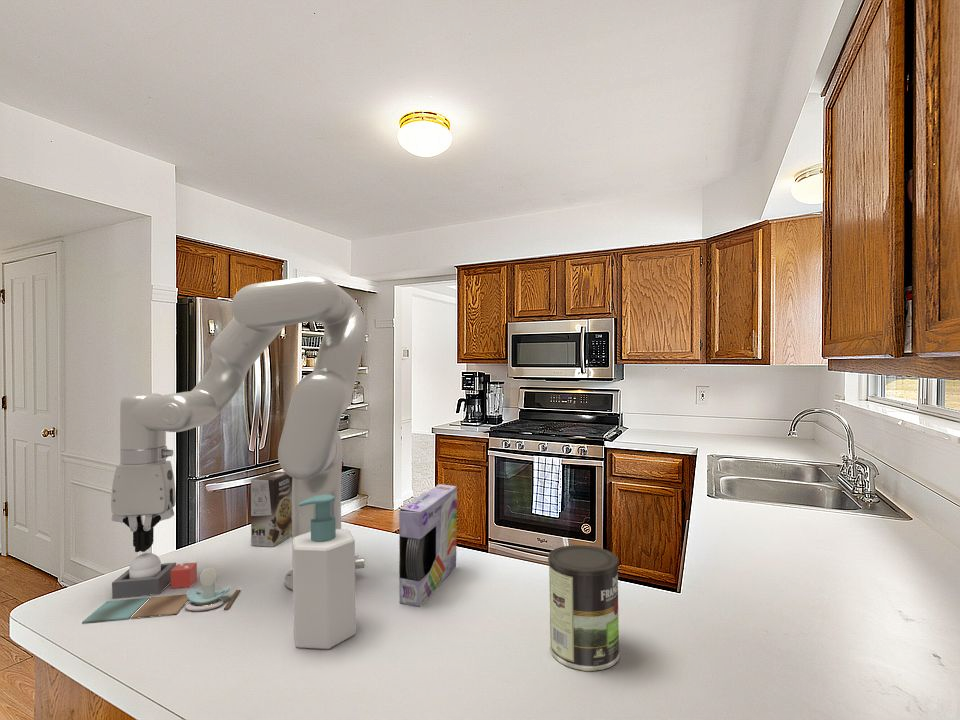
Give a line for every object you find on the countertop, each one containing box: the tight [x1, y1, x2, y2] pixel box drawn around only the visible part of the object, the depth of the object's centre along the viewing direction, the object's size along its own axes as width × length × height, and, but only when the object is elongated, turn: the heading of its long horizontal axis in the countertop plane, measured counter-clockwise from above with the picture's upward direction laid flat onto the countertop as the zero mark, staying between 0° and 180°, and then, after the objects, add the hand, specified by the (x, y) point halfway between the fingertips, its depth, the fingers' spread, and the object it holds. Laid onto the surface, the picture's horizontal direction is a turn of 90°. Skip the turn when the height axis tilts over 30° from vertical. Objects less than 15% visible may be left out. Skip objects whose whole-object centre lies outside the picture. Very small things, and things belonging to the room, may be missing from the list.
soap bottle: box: [291, 494, 357, 650], centre depth 82 cm, size 10×9×22 cm
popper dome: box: [128, 552, 162, 579], centre depth 100 cm, size 5×5×5 cm
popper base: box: [111, 561, 198, 599], centre depth 101 cm, size 13×8×4 cm, turn 100°
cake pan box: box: [398, 483, 458, 608], centre depth 99 cm, size 19×5×18 cm, turn 161°
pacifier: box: [184, 567, 231, 612], centre depth 93 cm, size 7×6×6 cm
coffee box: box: [250, 471, 293, 548], centre depth 126 cm, size 9×6×16 cm
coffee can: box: [547, 544, 621, 672], centre depth 76 cm, size 10×10×14 cm
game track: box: [81, 589, 241, 625], centre depth 92 cm, size 23×8×1 cm, turn 100°
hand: (143, 549), depth 100 cm, fingers closed
